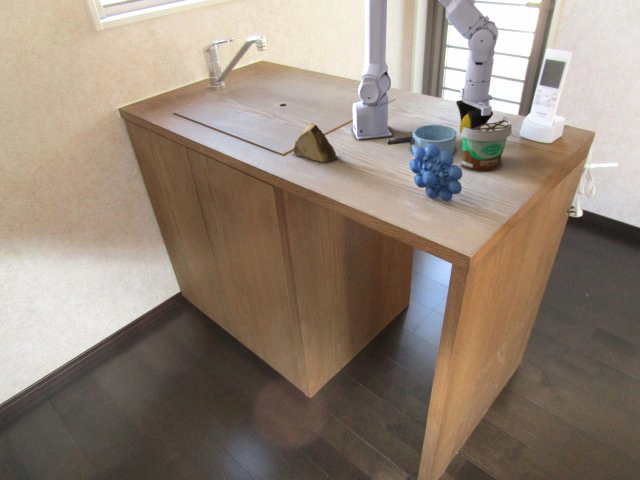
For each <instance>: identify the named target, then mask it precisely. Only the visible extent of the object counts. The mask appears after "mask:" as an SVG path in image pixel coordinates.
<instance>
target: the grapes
mask: <svg viewBox="0 0 640 480" xmlns="http://www.w3.org/2000/svg"><path fill="white" fill-rule="evenodd" d="M413 157H414V159H413V158H412V159H411V160H410V162H409V169H410V170H411V172H412V173H414V174H415V175H414V176H413V177H414V178H413V181H414V184H415V186H416V187H418V188H420V189H424V188H425V189H424V192H425V194H426V196H427V197H428V198H430V199H433V200H434V199H437V198H438V197H439V199H441V200H442V201H444V202H451V200H452V199H453V195H459V194H461V192H462V188H463V186H462V183H461V182H460V181H459V180H461V179H462V178H463V170H462V168H461V167H460V166H459V165H457V164H454V161H455V159H454V155H453V154H451V153H450V152H449V151H446V150H445V151H441V152H440V151H439V148H438V147H437V146H436V145H435V144H432V143H431V144H428V145H427V146H426V147H425V149H424V148H422V147H418V148H416V149H415V150H414V152H413Z"/></svg>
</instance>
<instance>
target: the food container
mask: <svg viewBox="0 0 640 480" xmlns="http://www.w3.org/2000/svg"><path fill="white" fill-rule="evenodd" d="M512 133H513V129H512V122H511V120H510V119H509V118H508V117H506V116H503V117H502V119H501V120H499V121H495V122H487V123H486V124H482V125H480V126H478V127H475V128H472V129H468V128H466V127H463V130H462V132H461V133H460V137H461V138H462V147H461V150H462V151H461V152H462V153H461V167H462V168H463V169H466V170H469V171H473V172H491V171H494V170H496V169H498V168H499V166H500V163H501V159H502V156H503V154H504V149H505V146H506V143H507V140H508V138H510V136H511V135H512Z"/></svg>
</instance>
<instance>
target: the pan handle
mask: <svg viewBox="0 0 640 480" xmlns="http://www.w3.org/2000/svg"><path fill="white" fill-rule="evenodd" d="M386 144H387V145H389V146H391V145H400V144H409V145H411V146H412V145H414V144H415V139H414V138H413V136H401V137H392V138H388V139H387V140H386Z"/></svg>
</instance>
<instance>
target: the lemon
mask: <svg viewBox="0 0 640 480" xmlns="http://www.w3.org/2000/svg"><path fill="white" fill-rule="evenodd" d="M463 127H466V128H468V129H470V119H469V115H468V114H467V115H465V116H464V118H463V119H462V122H461V121H460V125H459V133H460V134H461V132H462V130H463Z"/></svg>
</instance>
